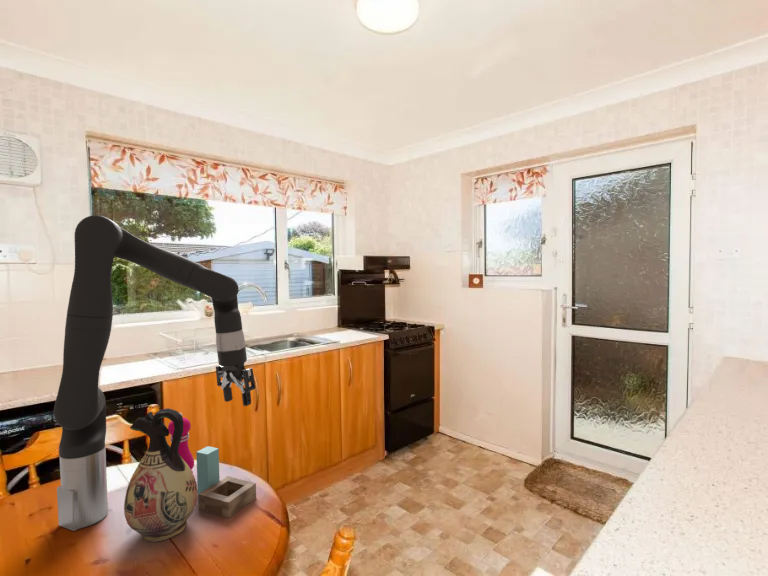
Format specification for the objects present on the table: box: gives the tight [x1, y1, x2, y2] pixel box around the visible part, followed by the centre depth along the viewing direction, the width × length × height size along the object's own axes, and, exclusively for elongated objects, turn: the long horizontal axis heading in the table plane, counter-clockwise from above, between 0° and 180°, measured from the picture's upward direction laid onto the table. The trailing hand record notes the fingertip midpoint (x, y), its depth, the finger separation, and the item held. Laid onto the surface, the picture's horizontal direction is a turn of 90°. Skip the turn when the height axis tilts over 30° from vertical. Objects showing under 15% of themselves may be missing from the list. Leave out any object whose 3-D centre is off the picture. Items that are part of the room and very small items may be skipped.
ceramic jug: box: [123, 408, 199, 543], centre depth 98 cm, size 17×15×30 cm
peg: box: [195, 445, 221, 496], centre depth 116 cm, size 4×4×12 cm
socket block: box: [198, 475, 257, 519], centre depth 110 cm, size 10×10×4 cm
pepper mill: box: [167, 412, 195, 474], centre depth 123 cm, size 7×7×20 cm
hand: (237, 402), depth 119 cm, fingers open, 8 cm apart
